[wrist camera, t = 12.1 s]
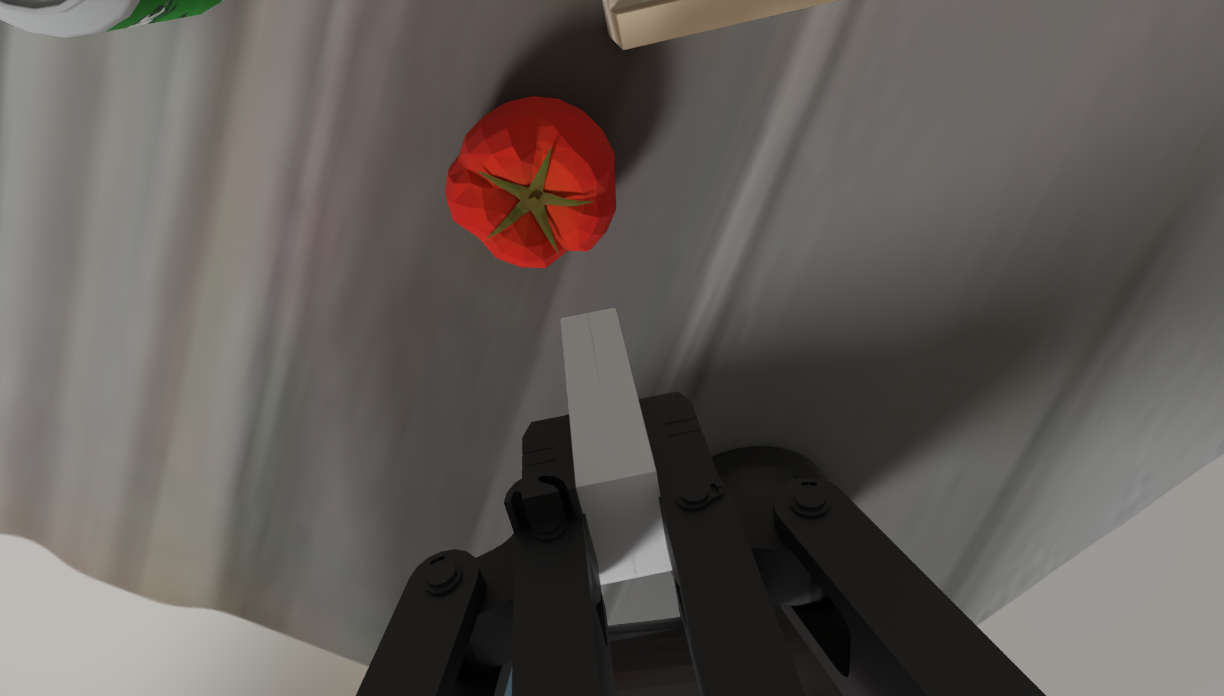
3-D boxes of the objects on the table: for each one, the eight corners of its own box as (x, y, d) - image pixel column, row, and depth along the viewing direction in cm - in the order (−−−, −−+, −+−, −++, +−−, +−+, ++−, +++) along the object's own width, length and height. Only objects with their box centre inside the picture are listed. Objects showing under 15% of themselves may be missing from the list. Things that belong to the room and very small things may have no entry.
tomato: (605, 83, 38) (621, 109, 31) (610, 230, 42) (625, 280, 36) (439, 91, 37) (421, 120, 31) (462, 240, 42) (451, 293, 35)
